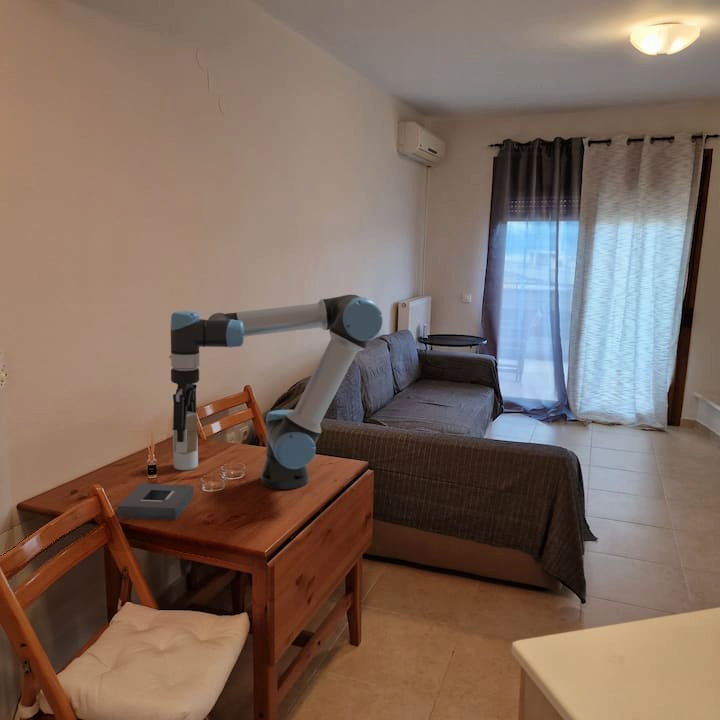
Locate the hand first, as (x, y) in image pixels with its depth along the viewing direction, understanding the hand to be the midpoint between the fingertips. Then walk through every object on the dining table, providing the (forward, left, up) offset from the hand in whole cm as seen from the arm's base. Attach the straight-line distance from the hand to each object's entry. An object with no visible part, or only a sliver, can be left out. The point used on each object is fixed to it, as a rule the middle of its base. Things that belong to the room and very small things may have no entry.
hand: (185, 447), depth 175 cm
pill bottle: (+10, -31, -18) cm, 37 cm away
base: (+8, +1, -18) cm, 20 cm away
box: (0, 0, -1) cm, 1 cm away
